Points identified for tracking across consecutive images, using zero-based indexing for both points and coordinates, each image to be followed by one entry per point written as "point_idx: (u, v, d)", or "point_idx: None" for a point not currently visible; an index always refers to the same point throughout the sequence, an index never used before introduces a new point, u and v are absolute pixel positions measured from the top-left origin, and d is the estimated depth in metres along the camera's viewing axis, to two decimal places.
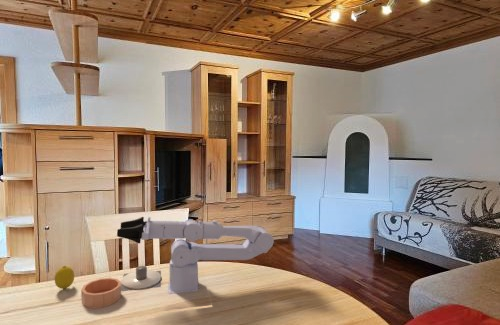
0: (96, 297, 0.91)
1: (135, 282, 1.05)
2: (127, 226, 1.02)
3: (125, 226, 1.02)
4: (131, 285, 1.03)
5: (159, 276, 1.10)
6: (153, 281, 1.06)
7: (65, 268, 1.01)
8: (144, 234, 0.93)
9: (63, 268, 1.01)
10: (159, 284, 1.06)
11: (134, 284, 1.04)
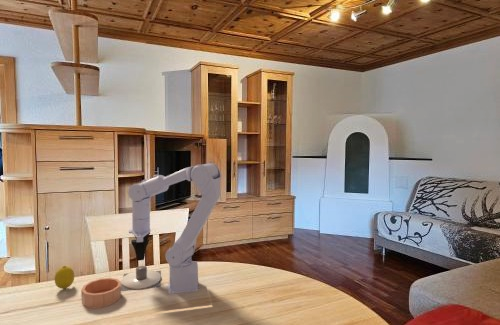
0: (96, 297, 0.91)
1: (135, 282, 1.05)
2: None
3: None
4: (131, 285, 1.03)
5: (159, 276, 1.10)
6: (153, 281, 1.06)
7: (65, 268, 1.01)
8: (137, 240, 1.00)
9: (63, 268, 1.01)
10: (159, 284, 1.06)
11: (134, 284, 1.04)
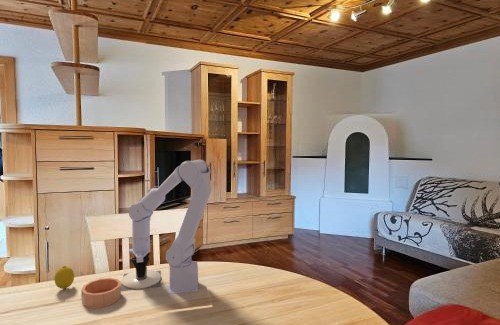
0: (96, 297, 0.91)
1: (135, 282, 1.05)
2: None
3: None
4: (131, 285, 1.03)
5: (159, 276, 1.10)
6: (153, 281, 1.06)
7: (65, 268, 1.01)
8: (137, 260, 1.01)
9: (63, 268, 1.01)
10: (159, 284, 1.06)
11: (134, 284, 1.04)
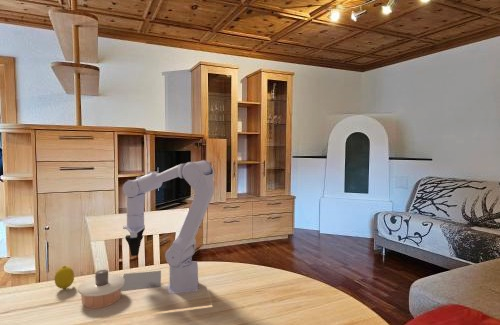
0: (96, 297, 0.91)
1: (93, 289, 0.92)
2: None
3: None
4: (89, 292, 0.90)
5: (123, 281, 0.98)
6: (115, 287, 0.94)
7: (65, 268, 1.01)
8: (131, 235, 1.02)
9: (63, 268, 1.01)
10: (159, 284, 1.06)
11: (92, 291, 0.91)
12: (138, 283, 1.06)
